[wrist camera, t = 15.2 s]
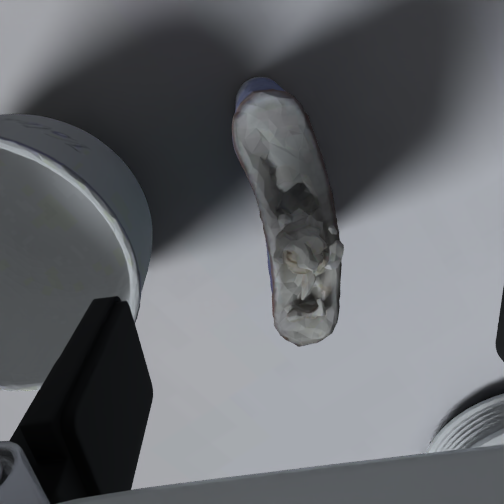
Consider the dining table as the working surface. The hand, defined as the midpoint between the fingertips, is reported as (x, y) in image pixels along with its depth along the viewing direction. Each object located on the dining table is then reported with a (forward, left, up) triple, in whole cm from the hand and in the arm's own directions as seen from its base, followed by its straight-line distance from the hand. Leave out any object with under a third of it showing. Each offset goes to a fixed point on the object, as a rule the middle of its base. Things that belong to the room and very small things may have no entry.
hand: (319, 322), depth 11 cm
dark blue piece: (0, +1, -13) cm, 13 cm away
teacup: (-13, 0, -13) cm, 18 cm away
